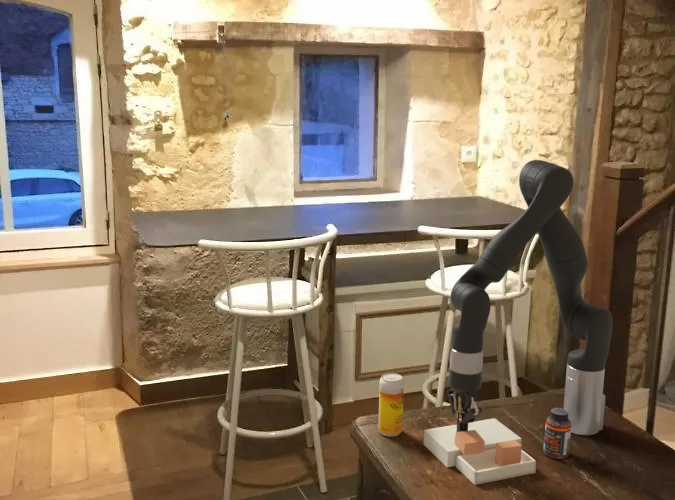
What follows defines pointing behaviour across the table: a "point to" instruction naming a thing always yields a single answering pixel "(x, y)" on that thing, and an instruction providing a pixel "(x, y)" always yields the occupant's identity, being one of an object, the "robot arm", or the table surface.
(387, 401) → the beer can
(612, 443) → the table surface
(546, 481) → the table surface
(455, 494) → the table surface
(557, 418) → the supplement bottle
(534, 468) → the tray
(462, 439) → the orange square block
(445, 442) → the slab
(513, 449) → the tile
